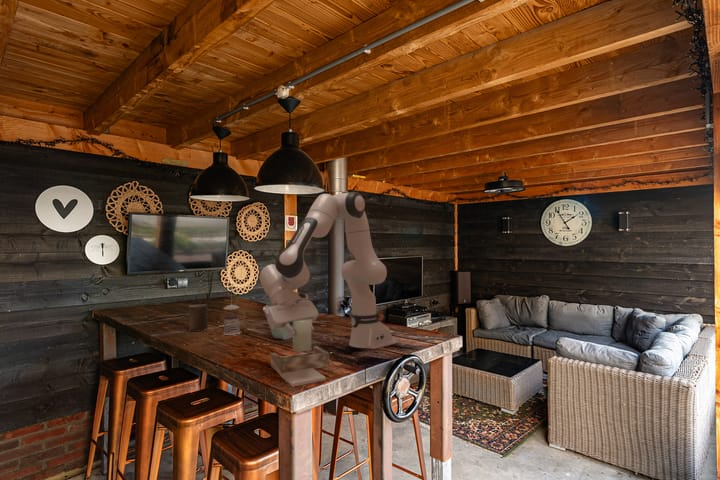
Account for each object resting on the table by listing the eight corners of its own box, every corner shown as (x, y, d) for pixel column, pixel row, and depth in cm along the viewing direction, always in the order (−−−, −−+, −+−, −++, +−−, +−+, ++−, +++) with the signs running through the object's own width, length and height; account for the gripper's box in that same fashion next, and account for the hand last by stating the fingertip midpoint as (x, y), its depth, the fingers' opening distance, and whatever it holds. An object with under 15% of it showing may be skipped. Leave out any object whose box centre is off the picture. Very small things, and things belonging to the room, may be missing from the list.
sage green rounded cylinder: (307, 345, 139) (307, 317, 139) (314, 349, 134) (314, 320, 134) (290, 348, 136) (290, 319, 136) (296, 352, 130) (296, 322, 131)
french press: (222, 332, 208) (222, 285, 208) (245, 330, 211) (244, 285, 211) (221, 336, 198) (220, 287, 198) (244, 334, 201) (244, 286, 202)
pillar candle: (206, 331, 211) (205, 303, 211) (186, 332, 208) (186, 304, 209) (208, 327, 220) (208, 301, 220) (190, 328, 218) (190, 302, 218)
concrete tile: (312, 370, 143) (312, 367, 143) (325, 380, 132) (325, 377, 132) (280, 376, 137) (280, 373, 137) (292, 386, 126) (292, 383, 127)
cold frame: (316, 358, 158) (316, 346, 158) (329, 366, 148) (329, 353, 148) (270, 366, 148) (270, 353, 148) (280, 375, 138) (280, 361, 138)
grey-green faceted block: (284, 343, 200) (299, 307, 209) (294, 345, 195) (309, 308, 205) (262, 331, 188) (279, 293, 198) (273, 332, 184) (290, 293, 193)
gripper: (265, 300, 132) (283, 332, 125) (310, 293, 147) (328, 322, 141) (257, 311, 135) (275, 344, 128) (302, 304, 150) (320, 333, 143)
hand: (303, 332), depth 134 cm, fingers closed on sage green rounded cylinder, 6 cm apart
